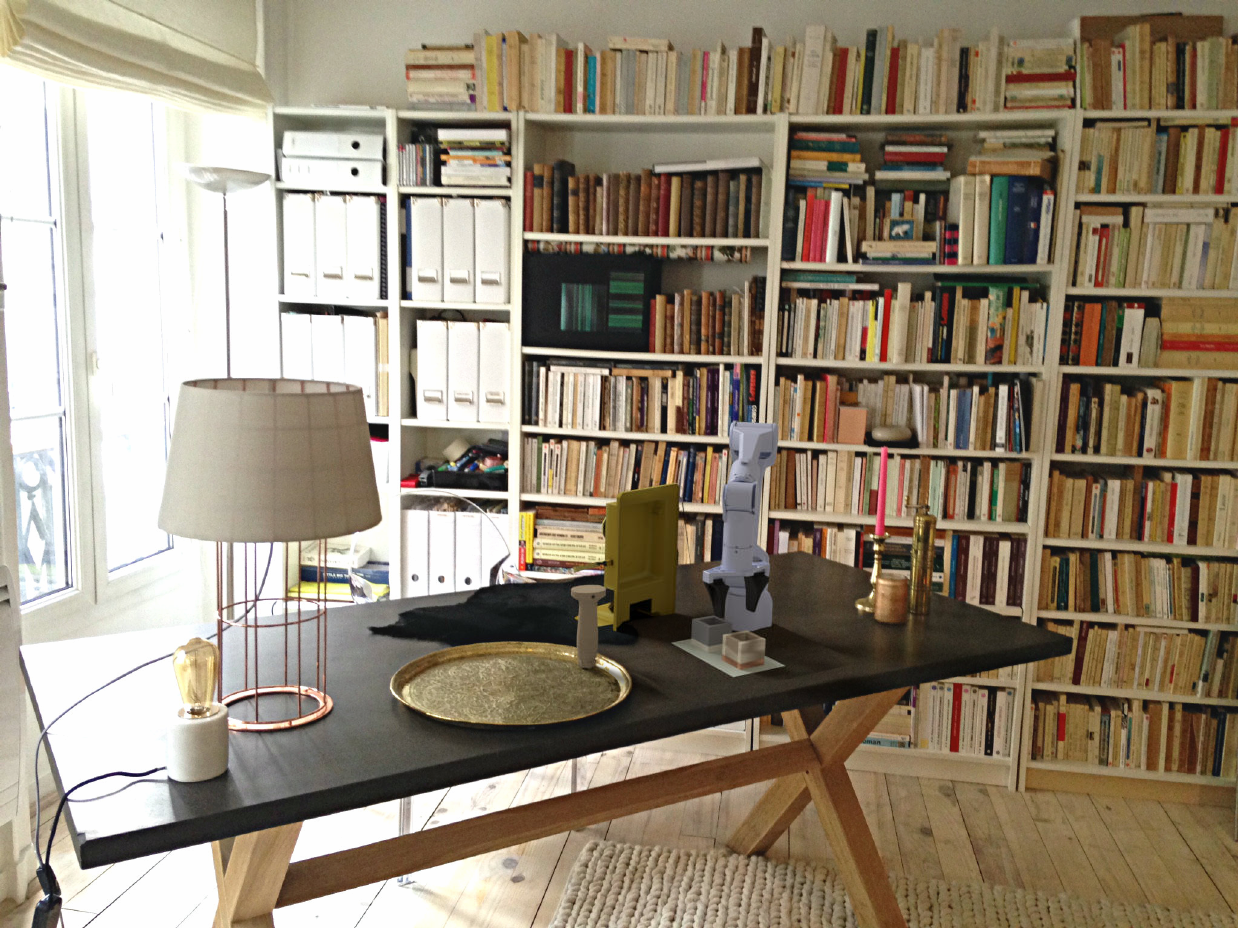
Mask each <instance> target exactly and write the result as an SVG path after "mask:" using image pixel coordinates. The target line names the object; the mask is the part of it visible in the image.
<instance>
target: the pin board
mask: <svg viewBox="0 0 1238 928" xmlns="http://www.w3.org/2000/svg"><path fill="white" fill-rule="evenodd" d="M671 644H673V645H674V646H675V647H678V648H679V649H681V650H683V651H685V652H687V653H689V654H691V655H692V656H694V657H696V658H698V659H699V660H701V661H704V662H705V663H707V664H709V665H711V666H712V667H714V668H716V669H718V670H720V672H723V673H725V674H727V675H729V676H730V677H732V678H736V677H740V676H745V675H750V674H755V673H758V672H764V671H769V670H772V669H776V668H777V669H778V668H782V667H786V665H785V664H782V663H780V662H778V661H777V660H775V659H772V658H770V657H768V656H766V655H765V658H764V665H761V666H756V667H752V668H747V669H742V670H739V669H738V668H736V667H734V666H732V665H730V664H728V663H726V662H724V661H723V660H722V650H719V651H714V652H709V653H708V652H706V651H704V650H702V649H700V648H698V647H697V646H695V645H693V644H691V638H690V639H689V638H688V639H684V640H679V641H678V640H677V641H674V642H671Z"/></svg>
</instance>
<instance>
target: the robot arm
mask: <svg viewBox="0 0 1238 928" xmlns="http://www.w3.org/2000/svg"><path fill="white" fill-rule="evenodd" d="M777 424H778V423H776V422H773V423H764V422H761V423H760V422H749V421H748V422H747V421H746V422H744V421H737V420H733V421H732V422H731V424H730V427H729V434H728V435H729V439H728V443H729V444H728V446H729V450H730V457H731V462H732V464H731V467H730V471H729V472H730V473H729V476H728V481H727V484H726V483H724V484H723V487H722V492H721V493H722V494H721V506H722V521H723V533H722V535H723V537H722V553H721V554H722V555H721V561H720V565H719V566H716V567H712V568H710V569H706V570H703V571H702V581H703V585H704V587H705V588H706V591H707V593H708V595H709V598H710V601H711V605H712V611H713V615H714V616H716V617H718V618H722V619H724V620H726V621H729V622H731V623H733V624H732V631H734V632H740V631H745V630H747V631H749V632H754V631H757V630H760V629H764V628H770V627H772V622H773V604H774V603H773V599H772V596H771V593H770V592H769V591H768V587H769V582H770V572H771V563H770V556H769V554H768V552H767V551H766V550H764V549H763V548H762V547H761V546H760V545H759V544H758V540H759V539H758V538H759V528H760V527H759V526H760V515H761V513H760V512H761V503H762V502H761V501H762V491H763V490H762V489H763V479H764V476H765V473H766V471H767V469H768V468H770V467H772V466H774V465H775V464H776V462H775V461H776V460H777V452H778V444H779V425H777Z"/></svg>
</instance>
